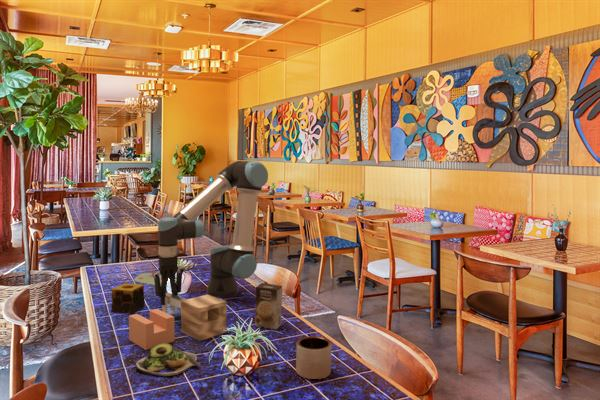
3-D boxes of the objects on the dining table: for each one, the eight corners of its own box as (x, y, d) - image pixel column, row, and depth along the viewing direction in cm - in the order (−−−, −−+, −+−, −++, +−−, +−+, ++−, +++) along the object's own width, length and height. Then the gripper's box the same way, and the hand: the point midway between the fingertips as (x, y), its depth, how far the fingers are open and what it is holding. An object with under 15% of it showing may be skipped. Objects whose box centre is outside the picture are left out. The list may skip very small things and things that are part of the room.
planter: (308, 361, 151) (309, 333, 150) (337, 370, 145) (338, 341, 144) (288, 374, 142) (289, 343, 141) (318, 384, 136) (319, 353, 135)
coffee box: (254, 326, 181) (254, 286, 179) (260, 321, 187) (261, 282, 185) (276, 330, 178) (276, 289, 176) (282, 324, 184) (282, 285, 182)
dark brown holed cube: (132, 314, 193) (132, 291, 192) (110, 312, 195) (110, 289, 194) (145, 306, 203) (145, 284, 202) (124, 304, 205) (124, 282, 204)
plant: (185, 281, 247) (185, 264, 246) (150, 288, 232) (150, 271, 231) (161, 273, 264) (161, 257, 263) (126, 279, 249) (126, 262, 248)
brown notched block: (207, 324, 183) (207, 294, 182) (226, 332, 175) (226, 301, 174) (181, 331, 174) (181, 300, 173) (199, 340, 166) (199, 308, 165)
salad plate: (213, 359, 152) (213, 346, 151) (179, 383, 135) (179, 368, 135) (165, 349, 159) (165, 336, 158) (127, 371, 142) (127, 357, 142)
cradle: (157, 332, 173) (157, 308, 173) (174, 341, 165) (174, 316, 164) (129, 340, 166) (128, 315, 165) (146, 350, 157) (145, 324, 157)
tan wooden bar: (168, 299, 194) (168, 292, 194) (199, 311, 179) (199, 303, 179) (162, 301, 192) (161, 294, 191) (192, 313, 177) (192, 305, 177)
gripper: (155, 259, 181) (155, 318, 183) (190, 254, 193) (190, 308, 195) (145, 256, 186) (146, 313, 188) (180, 251, 198) (180, 304, 200)
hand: (168, 311), depth 191 cm, fingers closed on tan wooden bar, 3 cm apart
